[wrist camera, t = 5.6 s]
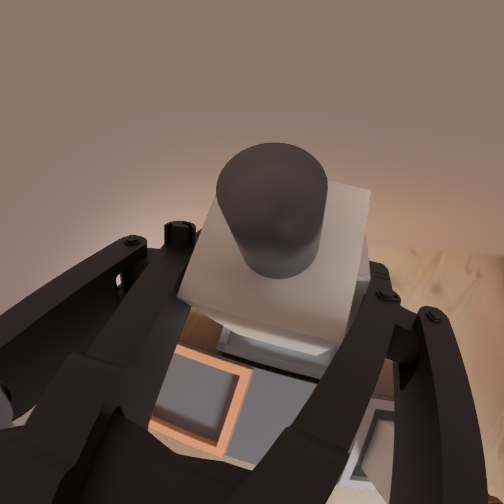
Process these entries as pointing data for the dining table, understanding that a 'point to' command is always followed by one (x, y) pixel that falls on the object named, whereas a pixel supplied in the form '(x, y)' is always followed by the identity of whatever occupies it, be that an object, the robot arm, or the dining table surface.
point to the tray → (275, 354)
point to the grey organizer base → (245, 409)
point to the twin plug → (380, 457)
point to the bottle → (279, 250)
